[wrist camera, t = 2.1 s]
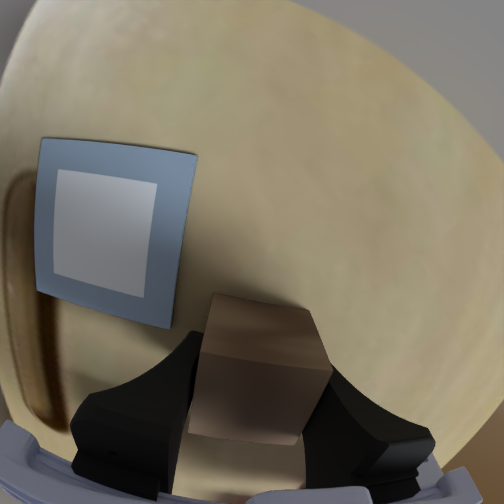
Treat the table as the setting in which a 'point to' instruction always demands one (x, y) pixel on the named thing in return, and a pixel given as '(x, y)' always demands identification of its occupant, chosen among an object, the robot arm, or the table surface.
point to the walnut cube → (257, 372)
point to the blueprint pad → (111, 226)
